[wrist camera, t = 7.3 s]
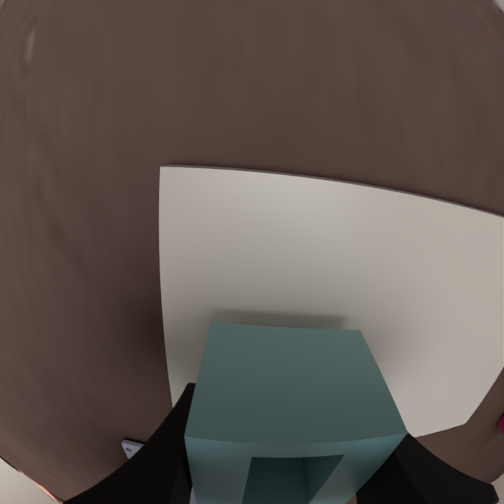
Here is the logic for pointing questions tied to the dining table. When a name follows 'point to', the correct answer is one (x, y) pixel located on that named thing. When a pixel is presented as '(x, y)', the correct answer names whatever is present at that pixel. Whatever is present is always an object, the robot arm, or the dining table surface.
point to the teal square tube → (287, 416)
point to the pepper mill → (501, 423)
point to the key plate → (337, 278)
